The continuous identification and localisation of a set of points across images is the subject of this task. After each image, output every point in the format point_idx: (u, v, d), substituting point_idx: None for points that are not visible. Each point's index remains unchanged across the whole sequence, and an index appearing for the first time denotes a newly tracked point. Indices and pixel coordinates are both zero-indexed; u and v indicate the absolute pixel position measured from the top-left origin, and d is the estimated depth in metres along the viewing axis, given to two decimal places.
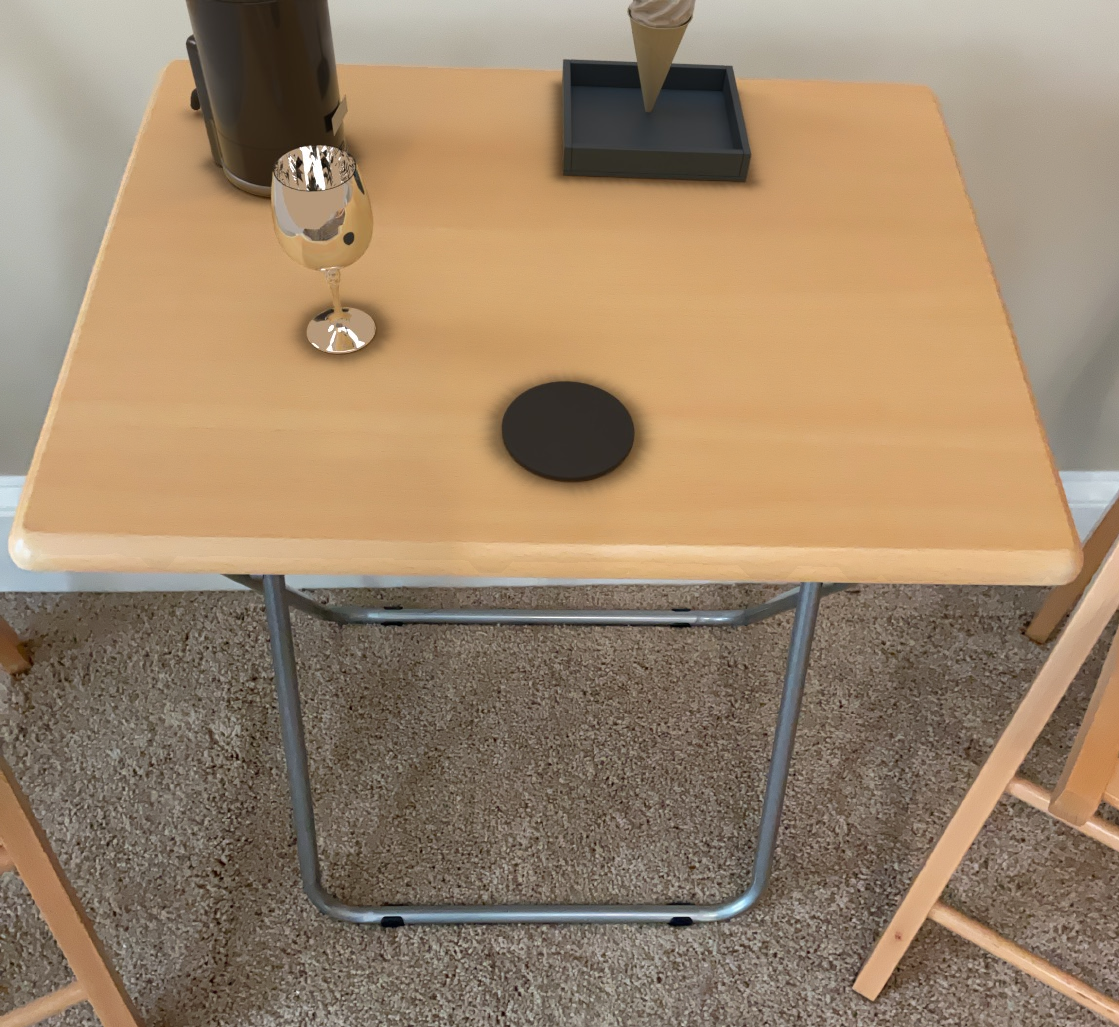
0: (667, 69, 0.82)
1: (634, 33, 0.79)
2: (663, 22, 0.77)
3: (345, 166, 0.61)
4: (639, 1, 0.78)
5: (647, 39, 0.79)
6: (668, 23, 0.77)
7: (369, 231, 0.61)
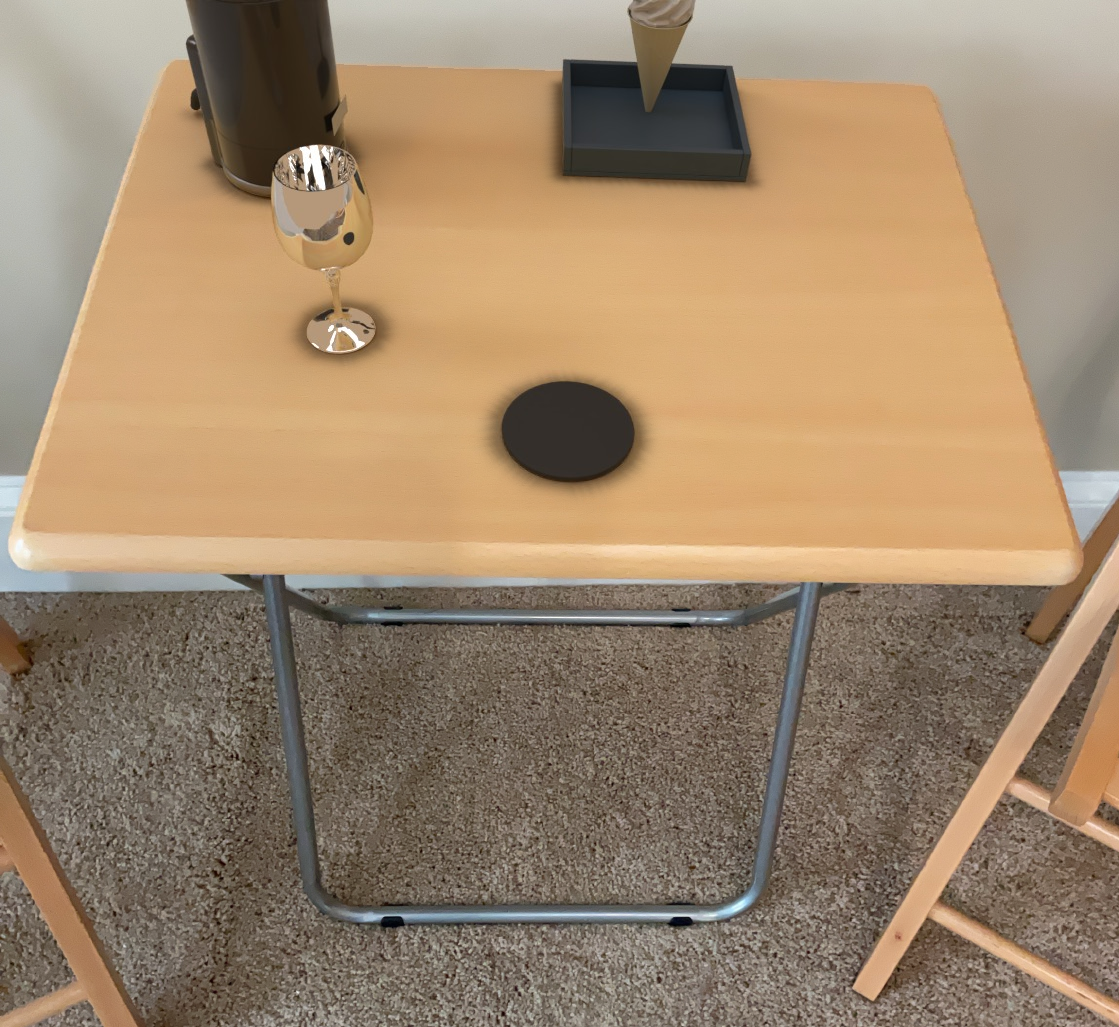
0: (667, 69, 0.82)
1: (634, 33, 0.79)
2: (663, 22, 0.77)
3: (345, 166, 0.61)
4: (639, 1, 0.78)
5: (647, 39, 0.79)
6: (668, 23, 0.77)
7: (369, 231, 0.61)
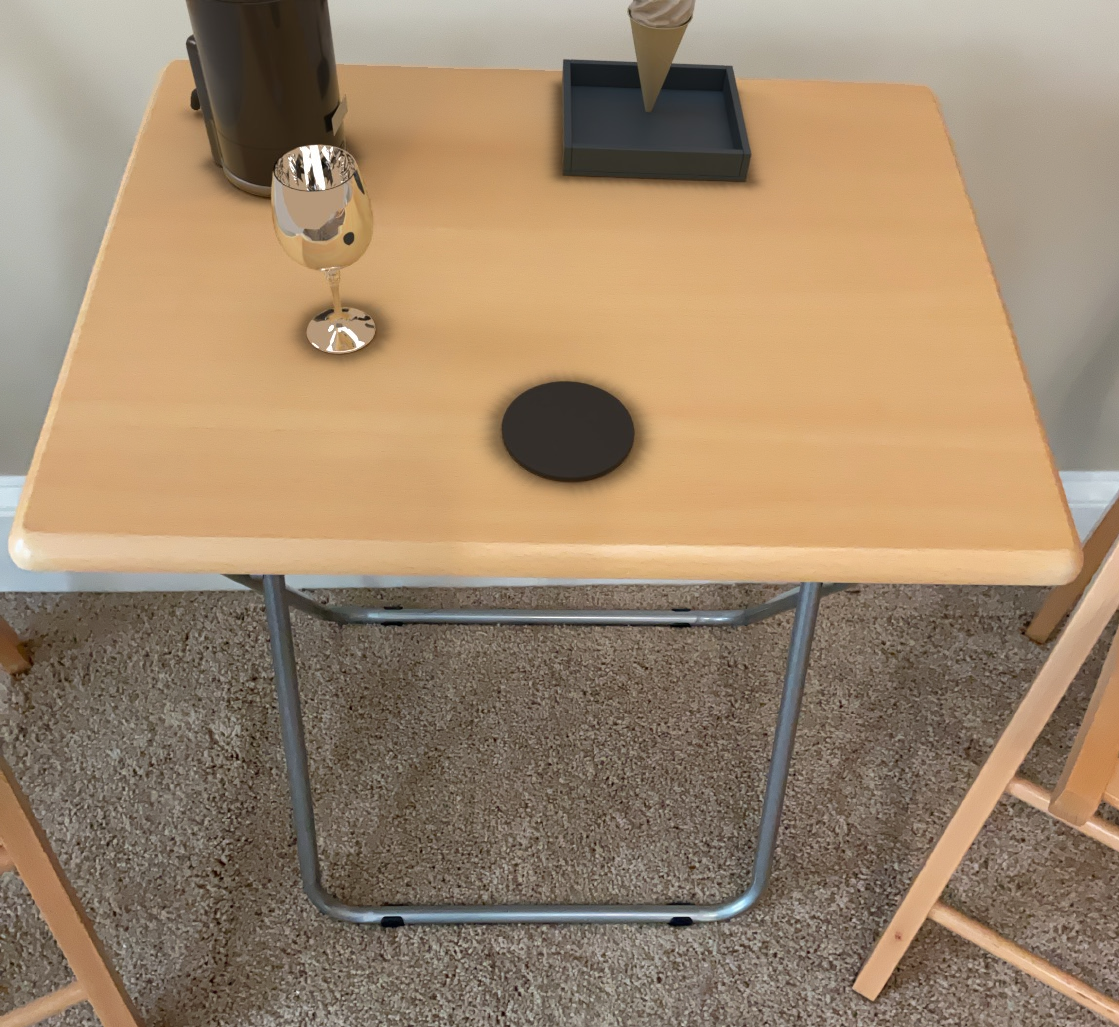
0: (667, 69, 0.82)
1: (634, 33, 0.79)
2: (663, 22, 0.77)
3: (345, 166, 0.61)
4: (639, 1, 0.78)
5: (647, 39, 0.79)
6: (668, 23, 0.77)
7: (369, 231, 0.61)
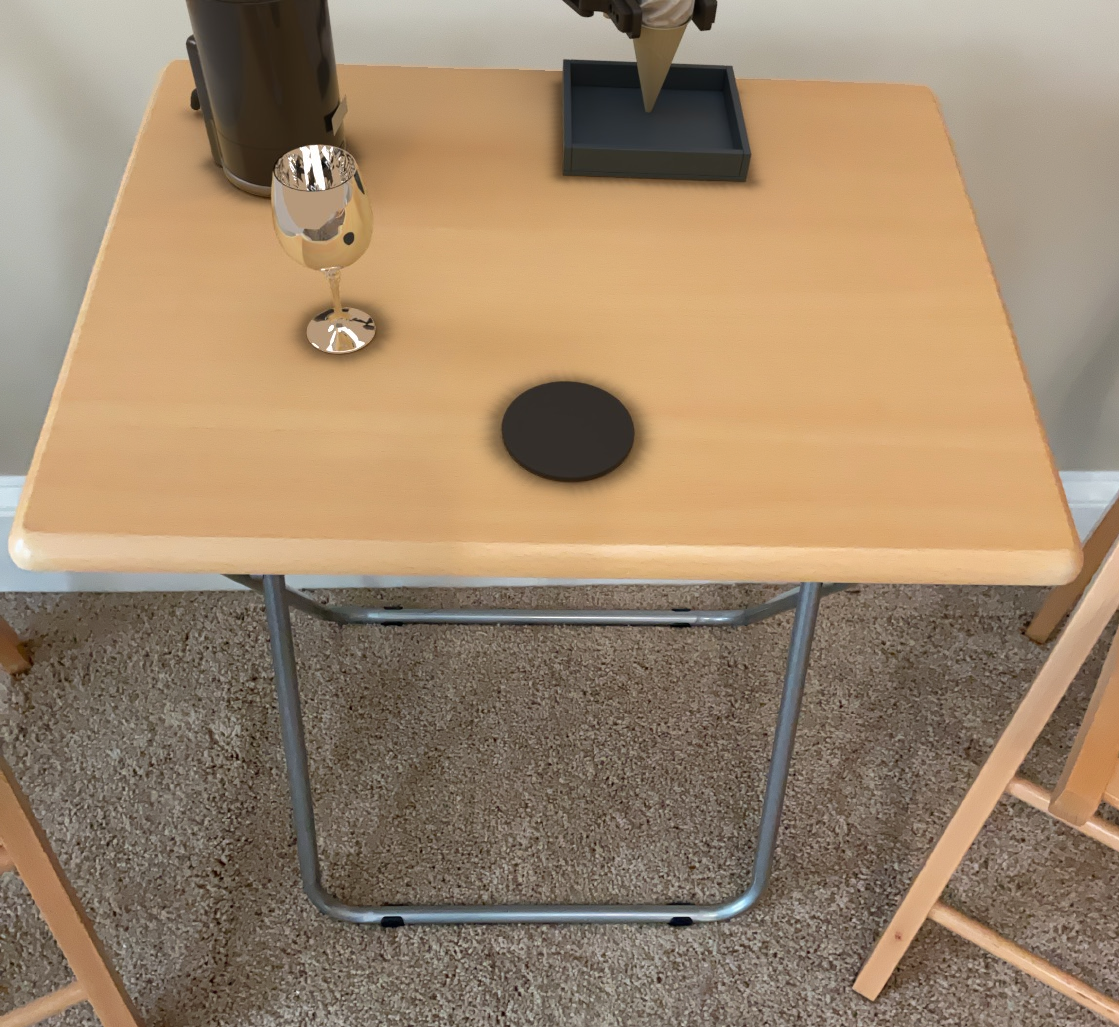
0: (667, 69, 0.82)
1: None
2: (662, 22, 0.77)
3: (345, 166, 0.61)
4: (638, 1, 0.78)
5: (646, 39, 0.79)
6: (667, 23, 0.77)
7: (369, 231, 0.61)
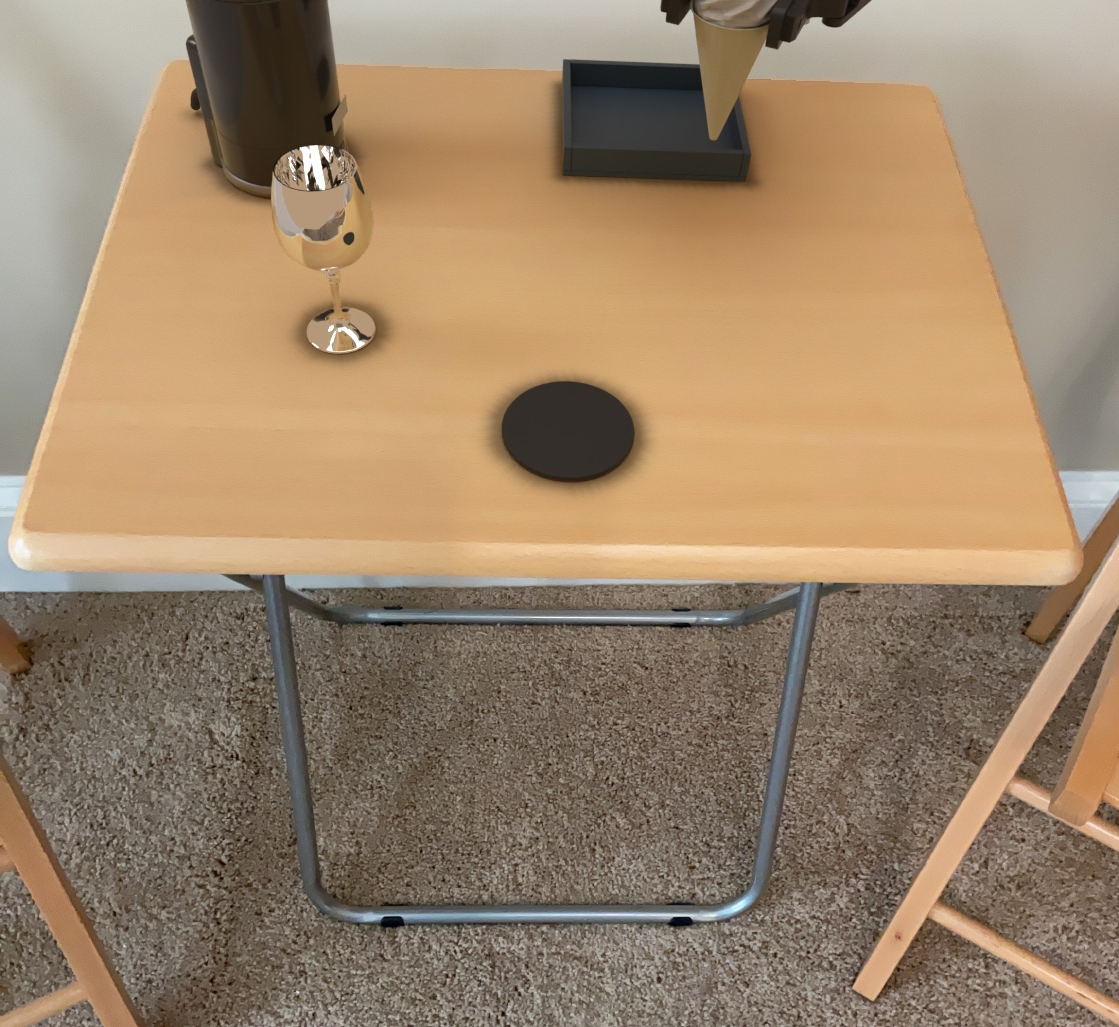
0: (729, 87, 0.60)
1: None
2: (714, 15, 0.56)
3: (345, 166, 0.61)
4: None
5: (699, 34, 0.58)
6: (720, 19, 0.56)
7: (369, 231, 0.61)
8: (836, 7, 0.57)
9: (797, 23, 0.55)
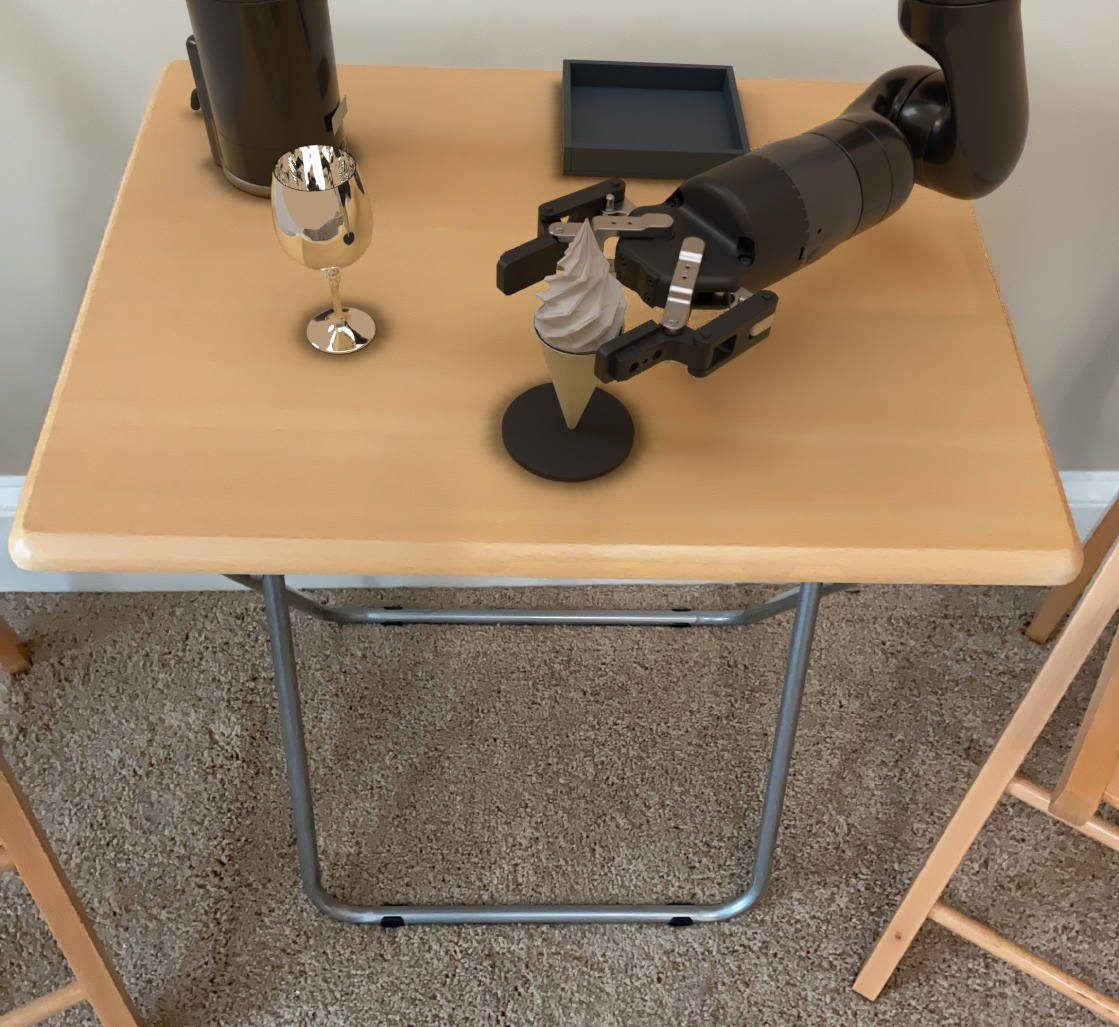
0: (567, 392, 0.59)
1: None
2: (540, 328, 0.55)
3: (345, 166, 0.61)
4: None
5: None
6: None
7: (369, 231, 0.61)
8: (694, 359, 0.53)
9: (626, 367, 0.52)
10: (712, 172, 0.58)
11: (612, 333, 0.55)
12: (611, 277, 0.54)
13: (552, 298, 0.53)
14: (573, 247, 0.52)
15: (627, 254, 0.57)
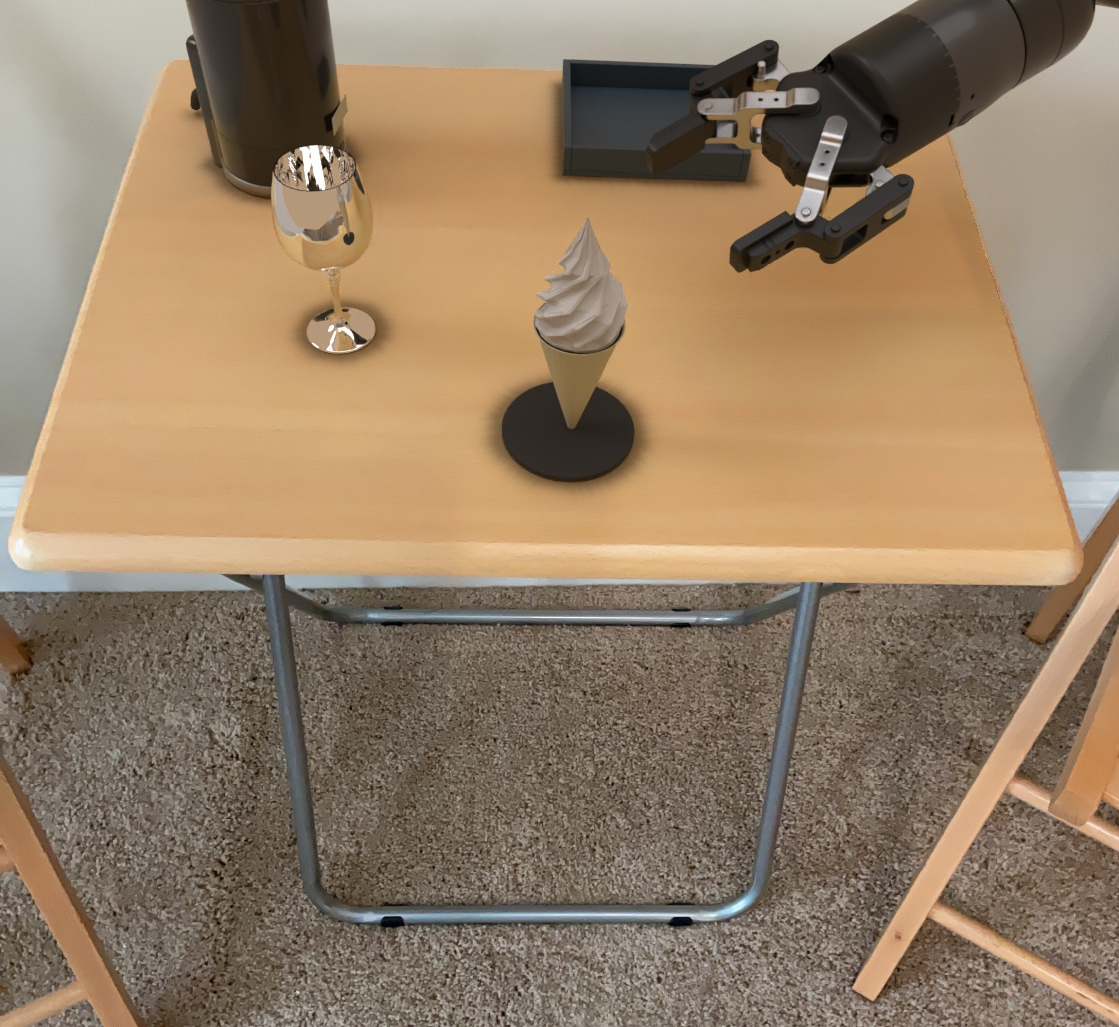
0: (568, 392, 0.59)
1: None
2: (541, 328, 0.55)
3: (345, 166, 0.61)
4: None
5: None
6: None
7: (369, 231, 0.61)
8: (825, 249, 0.57)
9: (757, 260, 0.57)
10: (863, 41, 0.58)
11: (612, 332, 0.55)
12: (611, 276, 0.54)
13: (553, 297, 0.54)
14: (574, 246, 0.52)
15: (771, 134, 0.60)
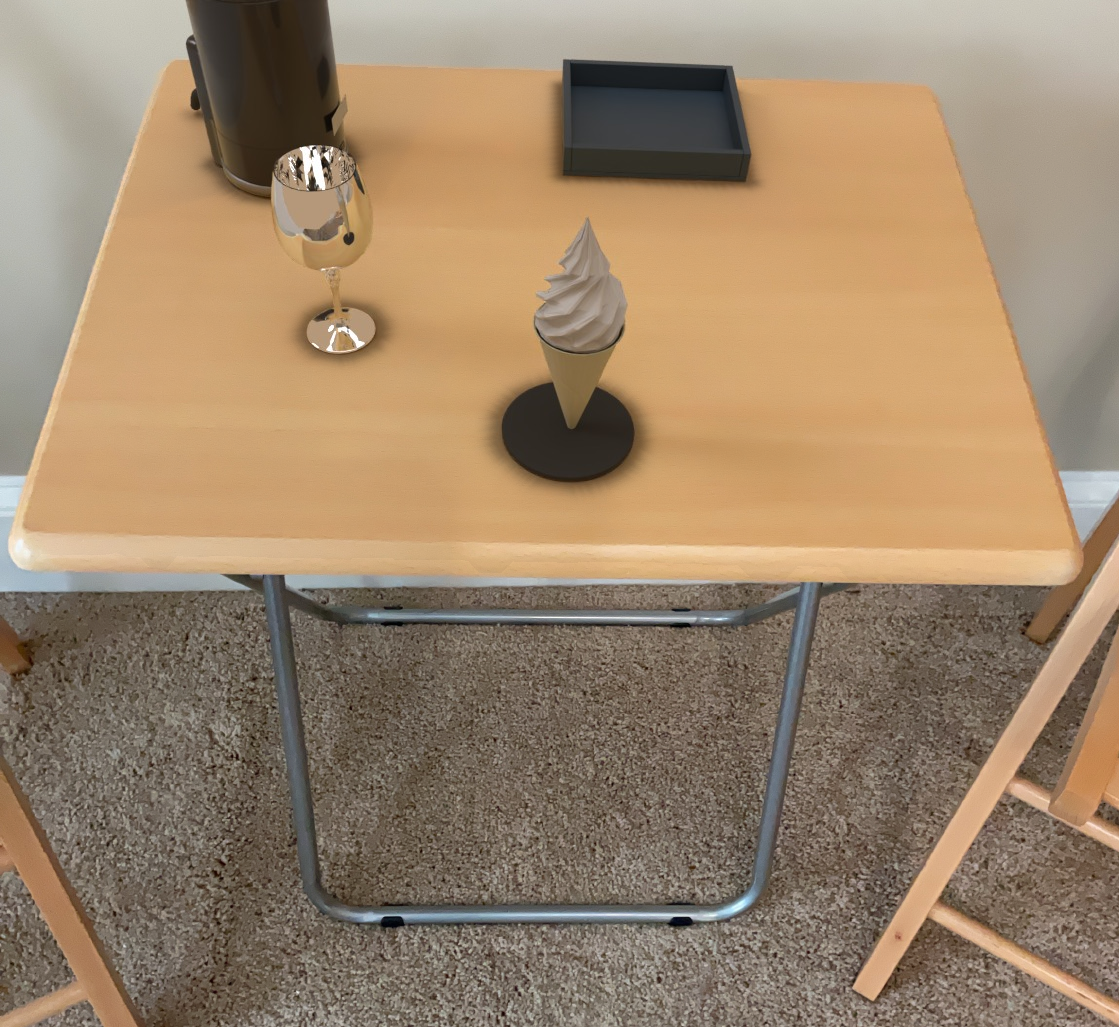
0: (568, 392, 0.59)
1: None
2: (541, 328, 0.55)
3: (345, 166, 0.61)
4: None
5: None
6: None
7: (369, 231, 0.61)
8: None
9: None
10: None
11: (612, 332, 0.55)
12: (611, 276, 0.54)
13: (553, 297, 0.54)
14: (574, 246, 0.52)
15: None
